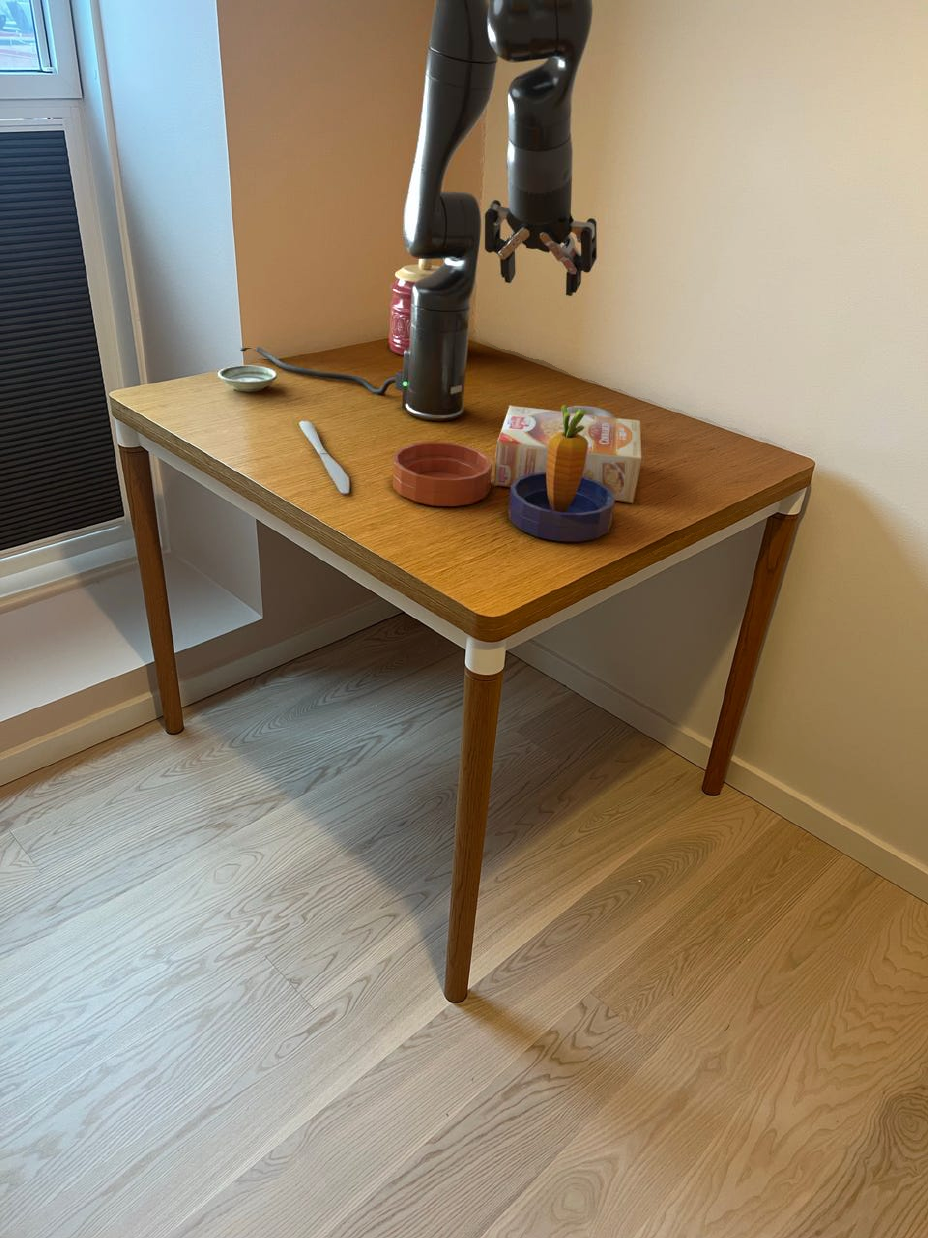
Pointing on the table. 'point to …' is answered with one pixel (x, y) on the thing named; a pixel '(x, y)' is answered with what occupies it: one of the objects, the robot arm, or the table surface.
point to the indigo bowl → (576, 524)
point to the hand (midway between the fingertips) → (540, 285)
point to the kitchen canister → (405, 303)
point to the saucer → (247, 377)
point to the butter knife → (326, 458)
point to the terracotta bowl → (441, 473)
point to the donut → (590, 411)
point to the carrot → (565, 462)
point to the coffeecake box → (608, 438)
